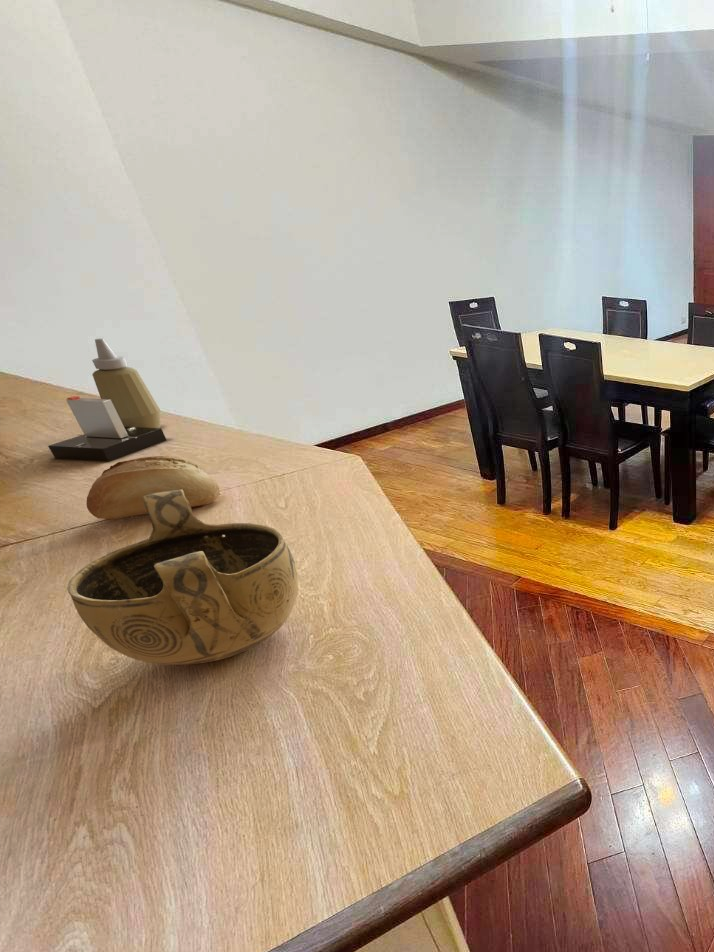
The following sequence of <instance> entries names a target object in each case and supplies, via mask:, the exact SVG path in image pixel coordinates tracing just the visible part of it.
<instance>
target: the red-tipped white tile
mask: <svg viewBox="0 0 714 952" xmlns="http://www.w3.org/2000/svg"><path fill="white" fill-rule="evenodd" d="M65 401H66V403H67V405H68V406H69V408H70V410H71V413H72V414H73V416H74V418H75V420H76V422H77V423H78V426H79V427H80V429H81V431H82V434H84V435H85V436H87V437H103V438H118V439H121V438H124V437H127V436H128V434H127V432H126V430H125V428H124V426H123V424H122V422H121V420H120V418H119V416H118V414H117V412H116V410H115V408H114V406H113V403H112V401H111V400H109V399H101V398H94V397H93V398H91V397H80V396H75V395H73V396H69V397H66V399H65Z"/></svg>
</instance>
